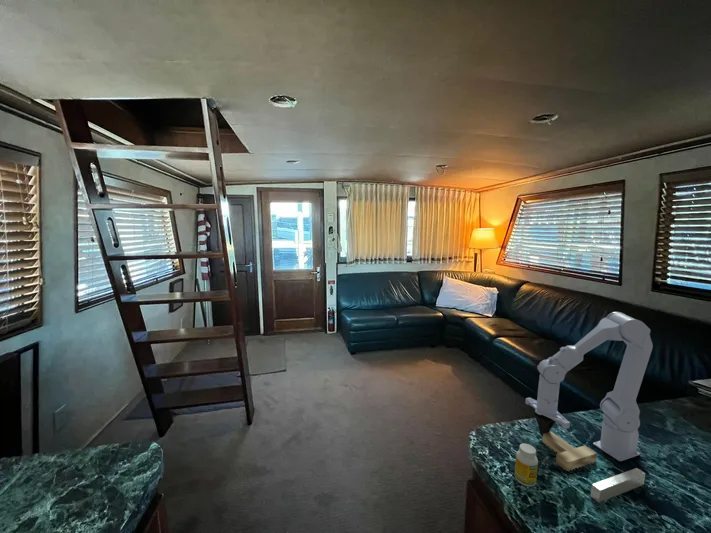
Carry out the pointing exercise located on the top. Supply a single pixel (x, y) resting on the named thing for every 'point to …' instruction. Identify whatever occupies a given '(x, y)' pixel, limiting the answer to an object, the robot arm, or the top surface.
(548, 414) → the robot arm
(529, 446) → the supplement bottle
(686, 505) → the top surface
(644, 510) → the top surface
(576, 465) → the maple t block
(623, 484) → the rail
